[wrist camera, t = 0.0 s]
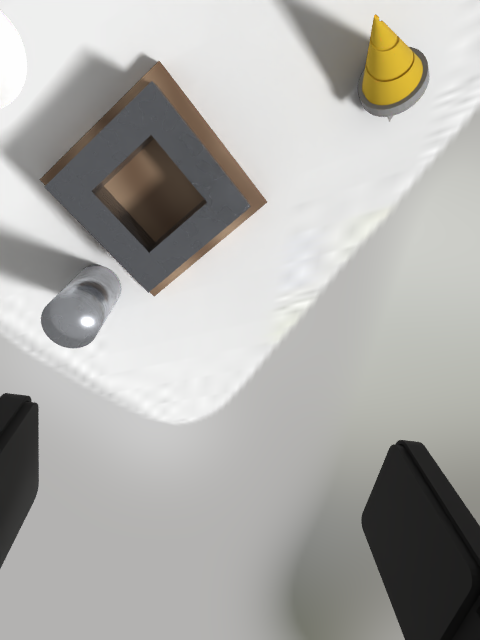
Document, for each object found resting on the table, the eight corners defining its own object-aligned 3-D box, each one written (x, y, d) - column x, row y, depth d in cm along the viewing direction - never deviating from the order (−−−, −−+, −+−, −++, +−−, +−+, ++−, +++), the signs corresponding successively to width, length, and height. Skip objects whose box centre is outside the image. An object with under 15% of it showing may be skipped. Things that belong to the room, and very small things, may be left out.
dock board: (161, 63, 34) (159, 60, 32) (265, 199, 39) (267, 202, 37) (46, 178, 37) (39, 179, 35) (156, 291, 42) (154, 296, 40)
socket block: (158, 87, 33) (152, 80, 29) (247, 200, 37) (250, 206, 33) (61, 181, 36) (44, 186, 32) (154, 278, 39) (148, 292, 36)
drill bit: (361, 137, 37) (327, 58, 29) (375, 81, 38) (346, -13, 29) (424, 134, 35) (407, 46, 26) (439, 75, 35) (427, -32, 26)
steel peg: (97, 256, 40) (67, 286, 32) (130, 289, 41) (109, 326, 33) (66, 284, 41) (29, 320, 33) (99, 315, 42) (72, 357, 34)
